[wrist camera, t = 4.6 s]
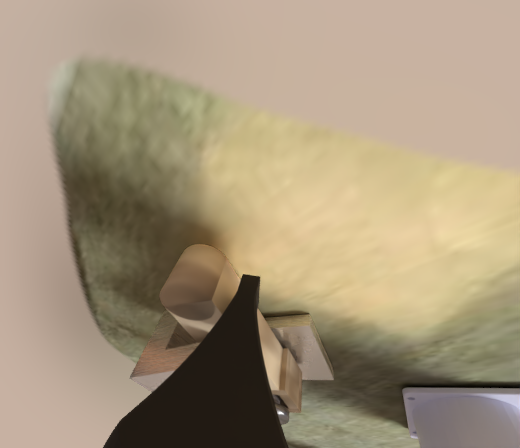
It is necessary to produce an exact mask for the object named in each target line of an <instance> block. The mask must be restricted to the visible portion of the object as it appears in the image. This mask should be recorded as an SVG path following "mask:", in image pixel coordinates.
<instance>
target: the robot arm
mask: <svg viewBox="0 0 520 448" xmlns="http://www.w3.org/2000/svg"><path fill="white" fill-rule="evenodd" d="M259 287H260V277H258V276H252V275H245V274H243V276H242V278H241V281H240V284H239V287H238V291H237V292H236V294H235V296H234V297H233V299H232V301H231V302H230V304H229V305H228V307H227V308H226V310H225V311H224V313H223V314H222V316H221V317H220V318H219V320H218V321H217V322H216V324H215V325H214V326H213V328H212V329H211V330H210V332H209V333H208V334H207V335H206V337H205V338H204V339H203V340H202V342H201V343H200V344H199V345H198V346H197V347H196V349H195V350H194V351H193V352H192V353H191V354H190V355H189V356H188V357H187V358H186V360H185V361H184V362H183V363H182V364H181V365H180V366H179V367H178V368H177V369H176V370H175V371H174V372H173V373H172V374H171V375H170V376H169V377H168V378H167V379H166V380H165V381H164V382H163V383H162V384H161V385H160V386H159V387H158V388H156V389H155V390H154V391H153V392H152V393H151V394H150V395H149V396H148V397H147V398H146V399H144V400H143V401H142V402H141V403H140V404H139V405H138V406H136V407H135V408H134V409H133V410H132V411H131V412H129V413H128V414H127V415H126V416H125V417H124V418H122V419H121V421H120V422H119V423H118V424H117V426H116V427H115V429H114V430H113V432H112V433H111V435H110V437H109V438H108V440H107V442H106V443H105V445H104V447H103V448H288V445H287V442H286V439H285V436H284V433H283V430H282V427H281V423H280V420H279V417H278V413H277V410H276V407H275V403H274V399H273V395H272V392H271V388H270V384H269V380H268V376H267V371H266V367H265V362H264V357H263V352H262V347H261V341H260V334H259V327H258V317H257V309H258V303H259ZM402 393H403V399H404V405H405V411H406V416H407V422H408V428H409V433H410V436H411V437H412V438H418V439H419V443H420V447H421V448H520V388H424V387H407V388H404V389H403V390H402Z"/></svg>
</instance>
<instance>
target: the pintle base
mask: <svg viewBox="0 0 520 448" xmlns="http://www.w3.org/2000/svg"><path fill="white" fill-rule="evenodd" d="M264 319H265V321H266V322H267V324H268V325H269V327H270V329H271V330H272V332H273V333H274V335H275V337H276V338H277V340H278V341H279V343H280V345H281V346H282V348H283V349H284V348H288V349H289V351H290V353H291V354H292V356H293V358H294V359H295V361H296V363H297V364H298V366H299V368H300V369H301V371H302V380H334V371H333V367H332V365H331V362H330V360H329V358H328V355H327V353H326V351H325V348H324V346H323V344H322V342H321V339H320V337H319V335H318V332H317V330H316V328H315V325H314V323H313V321H312V318H311V316H310V314H304V315H293V316H281V317H270V318H264ZM273 399H274V403H275V407H276V410H277V413H278V417H279V420H280V423H281V425H282V424H286V423H288V421H289V410H288V409H287V408H286V407H285V406H283V405H281V404H280V399H281V397H280V396H279V395H273Z"/></svg>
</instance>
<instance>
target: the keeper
mask: <svg viewBox="0 0 520 448" xmlns="http://www.w3.org/2000/svg"><path fill="white" fill-rule="evenodd" d="M200 343H201V342H199V343H197V342H196V340H195V339H194V338H193V337H192V336H191V335H190V334H189V333H188V332H187V331H186V330H185V328H184V327H183V326H182V325H181V324H180V323H179V322H178V321H177V320H176V319H175V318H174V317H173V315H172V314H171V313H170V312H169V311H168V310H167V309H165V311H164V313H163V315H162V316H161V318H160V320H159V322H158V324H157V326H156V328H155V330H154V332H153V334H152V336H151V338H150V339H149V341H148V343H147V345H146V347H145V349H144V351H143V353H142V355H141V357H140V359H139V361H138V362H137V364H136V367H135V368H134V370H133V372H132V374H131V376H130V379H132V380H133V381H135V382H137V383H138V384H140V385H142V386H143V387H145V388H147V389H148V390H150V391H151V392H153V391H154V390H155V389H156V388H158V387H159V386H160V385H161V384H162V383H163V382H164V381H165V380H166V379H167V378H168V377H169V376H170V375H171V374H172V373H173V372H174V371H175V370H176V369H177V368H178V367H179V366H180V365H181V364H182V363H183V362H184V361H185V360H186V358H187V357H188V356H189V355H190V354H191V353H192V352H193V351H194V350H195V349H196V347H197V346H198V345H199V344H200Z"/></svg>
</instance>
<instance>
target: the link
mask: <svg viewBox="0 0 520 448" xmlns="http://www.w3.org/2000/svg"><path fill="white" fill-rule="evenodd" d="M240 281H241V280H240V279H239V277H238V275H237V274H236V272H235V271H234V269H233V267H232V266H231V264H230V262H229V261H228V259H227V258H226V256H225V255H224V254H223V253H222V252H220V251H219V250H218V249H216V248H214V247H212V246H209V245H204V244H194V245H191V246H188V247H187V248H186V249H185V250H184V251H183V253H182V255H181V256H180V258H179V260H178V262H177V263H176V265H175V267H174V268H173V270H172V272H171V274H170V275H169V277H168V279H167V281H166V282H165V284H164V286H163V288H162V289H161V291H160V294H159V298H160V301H161V303H162V304H163V305H164V307H165V308H166V309H167V310H168V311H169V312H170V313H171V314H172V315H173V317H174V318H175V319H176V320H177V321H178V322H179V323H180V324H181V325H182V326H183V327H184V328H185V330H186V331H187V332H188V333H189V334H190V335H191V336H192V337H193V338H194V339H195V340H196V342H197V343H199V342H202V340H203V339H204V338H205V337H206V335H207V334H208V333H209V332H210V330H211V329H212V328H213V326H214V325H215V324H216V322H217V321H218V320H219V318H220V317H221V316H222V314H223V313H224V311H225V310H226V308H227V307H228V305H229V304H230V302H231V301H232V299H233V297H234V296H235V294H236V292H237V291H238V287H239V284H240ZM257 317H258V327H259V334H260V341H261V347H262V352H263V357H264V362H265V367H266V371H267V376H268V380H269V384H270V388H271V392H272V395H279V396H280V397H281V399H280V404H281V405H283V406H285V407H286V408H287V409H288V410H289V412H296V413H301V397H302V371H301V369H300V368H299V366H298V364H297V363H296V361H295V359H294V358H293V356H292V354H291V353H290V351H289V349H288V348H284V349H283V348H282V346H281V345H280V343H279V341H278V340H277V338H276V337H275V335H274V333H273V332H272V330H271V329H270V327H269V325H268V324H267V322H266V321H265V319H264V317H263V316H262V314H261V312H260V311H259V309H257Z"/></svg>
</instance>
